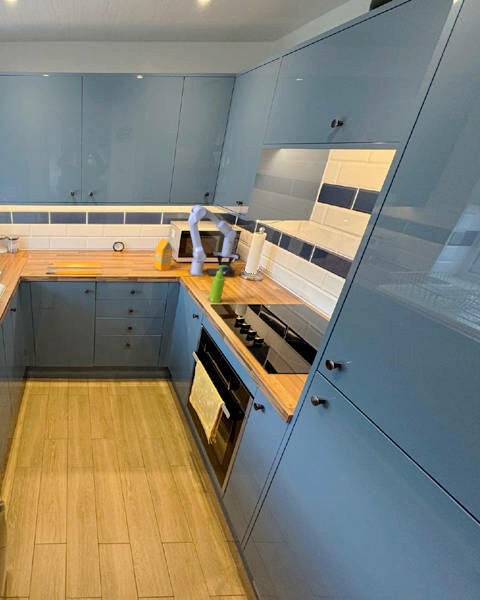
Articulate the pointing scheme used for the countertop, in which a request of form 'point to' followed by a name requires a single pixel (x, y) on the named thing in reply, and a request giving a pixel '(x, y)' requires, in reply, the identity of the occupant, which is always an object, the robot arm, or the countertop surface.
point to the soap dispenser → (217, 285)
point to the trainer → (224, 267)
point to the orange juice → (163, 255)
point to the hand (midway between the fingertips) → (223, 267)
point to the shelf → (228, 273)
